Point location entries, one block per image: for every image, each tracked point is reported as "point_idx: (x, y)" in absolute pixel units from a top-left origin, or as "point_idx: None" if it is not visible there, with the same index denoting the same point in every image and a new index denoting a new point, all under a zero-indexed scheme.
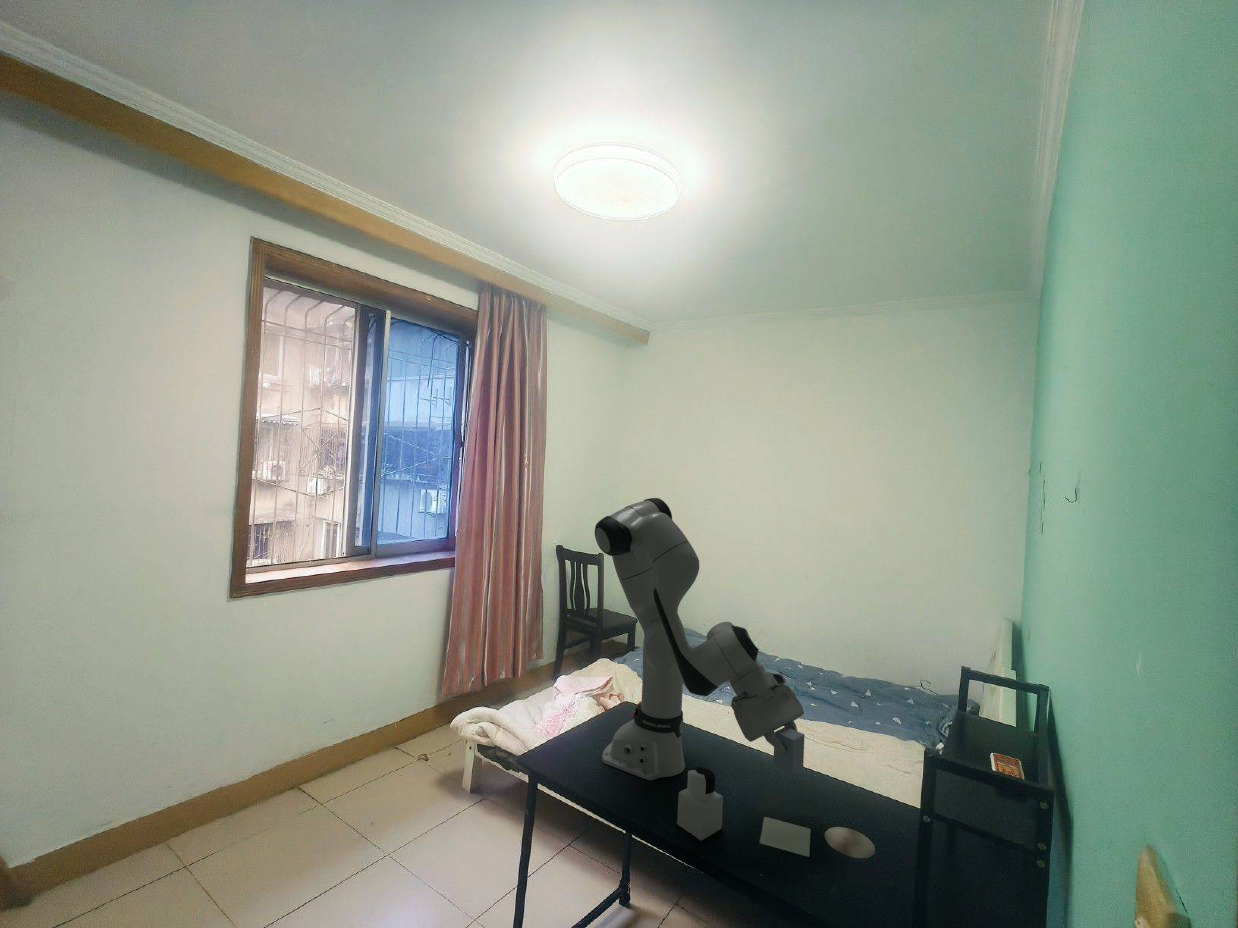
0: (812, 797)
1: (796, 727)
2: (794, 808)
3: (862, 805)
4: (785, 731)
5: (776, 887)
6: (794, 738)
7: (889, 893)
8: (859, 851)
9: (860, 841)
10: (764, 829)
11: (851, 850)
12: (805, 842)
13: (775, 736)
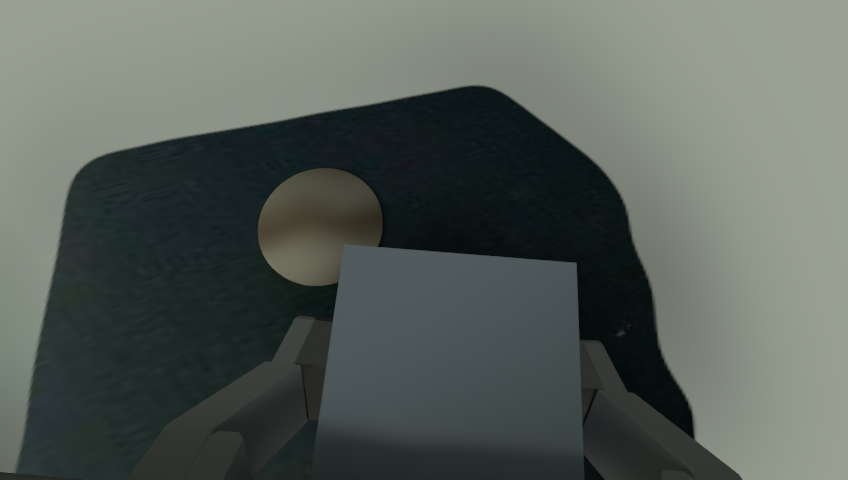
0: (155, 394)
1: (203, 402)
2: None
3: (102, 259)
4: (445, 438)
5: (626, 285)
6: (529, 275)
7: (436, 112)
8: (342, 194)
9: (297, 205)
10: None
11: (353, 209)
12: None
13: (680, 460)
